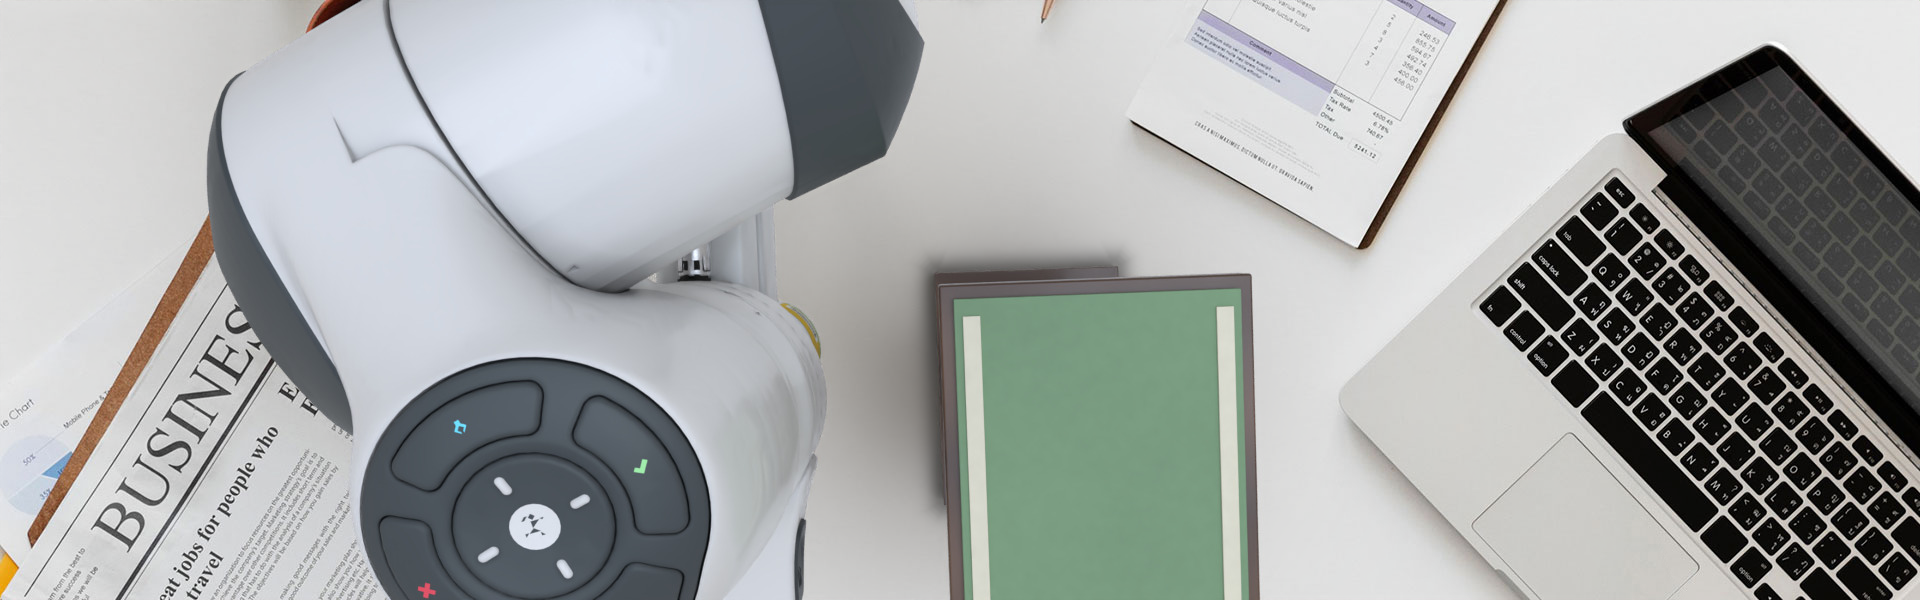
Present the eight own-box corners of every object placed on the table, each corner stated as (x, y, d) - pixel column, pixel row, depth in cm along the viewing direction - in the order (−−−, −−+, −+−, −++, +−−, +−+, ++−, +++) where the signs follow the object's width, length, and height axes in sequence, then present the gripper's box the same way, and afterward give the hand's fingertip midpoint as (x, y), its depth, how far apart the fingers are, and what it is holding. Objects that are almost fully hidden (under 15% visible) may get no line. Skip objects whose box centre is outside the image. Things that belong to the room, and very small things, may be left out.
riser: (934, 272, 65) (938, 285, 37) (1113, 266, 65) (1252, 273, 37) (943, 499, 65) (953, 681, 37) (1120, 491, 65) (1262, 667, 38)
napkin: (953, 299, 37) (953, 299, 36) (1238, 288, 37) (1242, 288, 37) (967, 667, 37) (967, 671, 37) (1248, 654, 37) (1251, 658, 37)
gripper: (590, 110, 36) (680, 146, 50) (622, 689, 38) (701, 569, 51) (774, 104, 37) (813, 142, 50) (800, 680, 38) (831, 563, 52)
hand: (757, 361), depth 51 cm, fingers closed on supplement bottle, 5 cm apart
